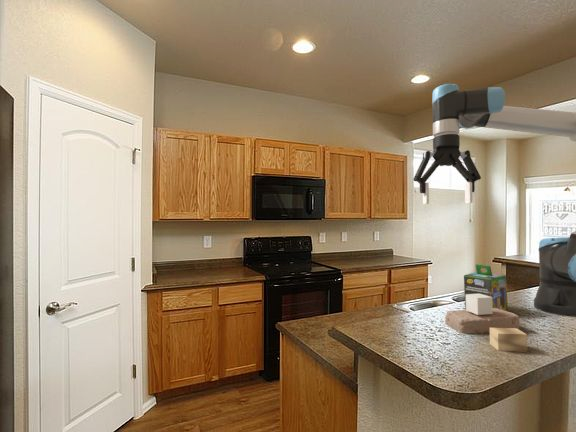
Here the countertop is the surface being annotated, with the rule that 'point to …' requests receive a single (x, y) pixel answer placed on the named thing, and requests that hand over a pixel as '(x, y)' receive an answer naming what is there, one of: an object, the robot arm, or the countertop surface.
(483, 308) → the beige cube
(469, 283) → the chalk box
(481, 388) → the countertop surface
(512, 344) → the oak block
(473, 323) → the brick
